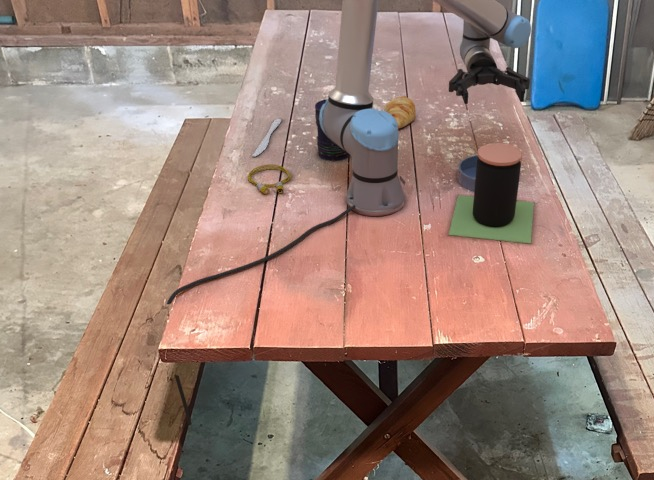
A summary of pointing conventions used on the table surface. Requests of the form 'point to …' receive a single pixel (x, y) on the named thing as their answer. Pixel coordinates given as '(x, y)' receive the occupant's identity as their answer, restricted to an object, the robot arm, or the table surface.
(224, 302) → the table surface
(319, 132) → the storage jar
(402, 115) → the croissant
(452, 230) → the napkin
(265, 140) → the butter knife
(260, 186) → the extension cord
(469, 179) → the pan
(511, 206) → the coffee jar
